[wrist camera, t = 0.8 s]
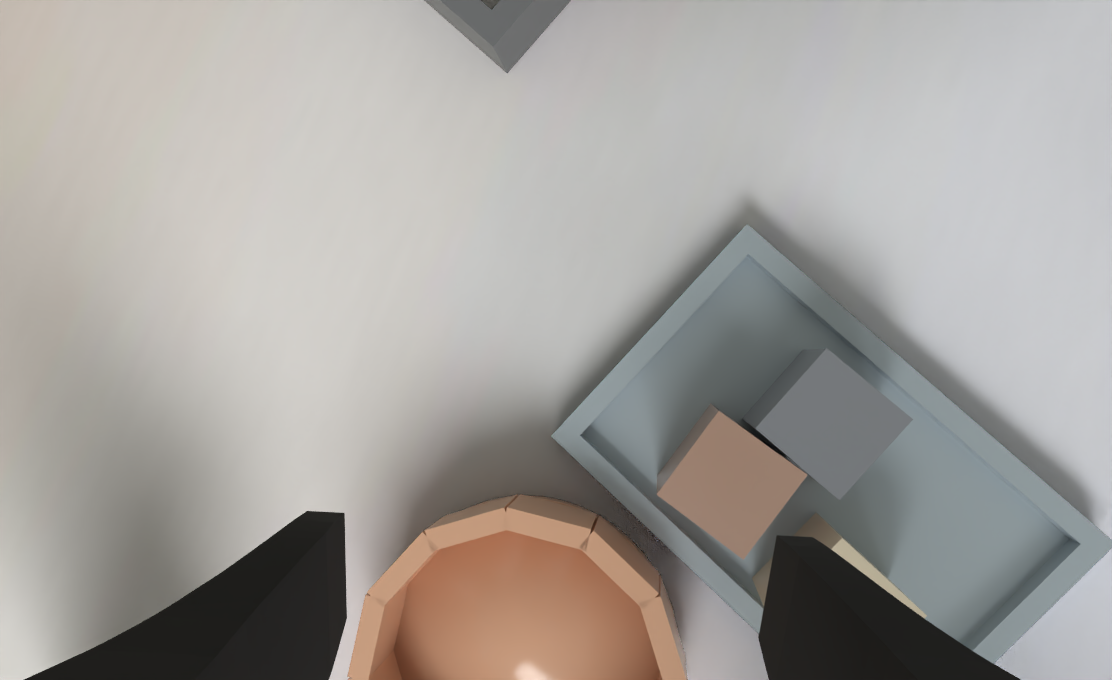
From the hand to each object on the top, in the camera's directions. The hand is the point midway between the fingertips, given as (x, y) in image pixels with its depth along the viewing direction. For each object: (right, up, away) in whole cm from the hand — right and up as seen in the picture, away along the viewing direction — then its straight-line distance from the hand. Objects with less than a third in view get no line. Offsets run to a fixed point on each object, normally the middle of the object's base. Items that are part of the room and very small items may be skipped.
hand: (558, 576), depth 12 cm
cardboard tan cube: (+6, -1, +16) cm, 17 cm away
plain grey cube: (+10, +1, +16) cm, 18 cm away
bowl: (-1, -8, +17) cm, 19 cm away
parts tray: (+10, -1, +16) cm, 19 cm away
